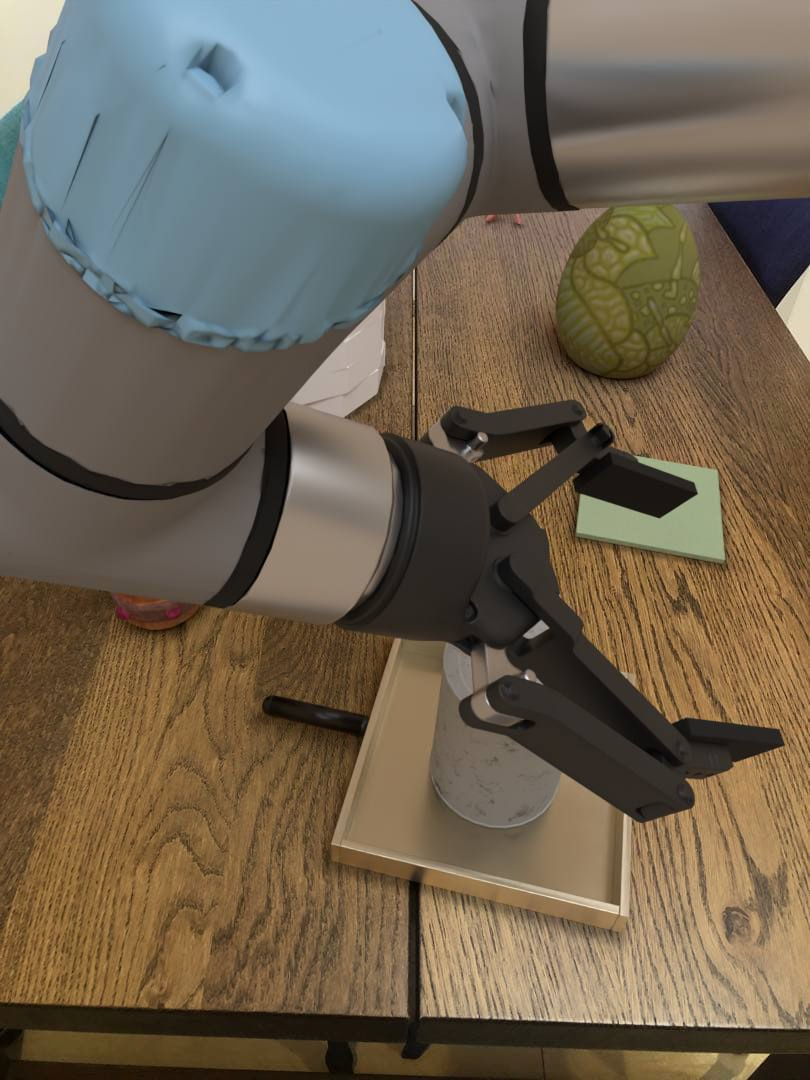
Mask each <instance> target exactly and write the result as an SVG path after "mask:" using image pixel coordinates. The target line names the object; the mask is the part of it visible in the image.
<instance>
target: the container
mask: <svg viewBox="0 0 810 1080" xmlns="http://www.w3.org/2000/svg"><path fill="white" fill-rule="evenodd" d="M386 299H387V297H386V298H385V299H384V300H383V301H382V302H381V303H380V304H379V305H378V306H377V307H376V308H375V309H374V310H373V311H372V312H371V313H370V314H369V315H368V316H367V317H366V318H365V319H364V320H363V321H362V322H361V323H360V324H359V325H358V326H357V327H356V328H355V329H354V330H353V331H352V332H351V333H350V334H349V335H348V336H347V337H346V339H345V340H344V341H343V342H342V343H341V344H340V345H339V346H338V347H337V348H336V349H335V350H334V352H333V353H332V354H331V355H330V356H329V357H328V358H327V359H326V360H325V361H324V363H323V364H322V365H321V366H320V367H319V368H318V369H317V371H316V372H315V373H314V374H313V375H312V376H311V377H310V378H309V380H308V381H307V382H306V383H305V384H304V386H303V387H302V388H301V389H300V390H299V391H298V392H297V394H296V395H295V396H294V397H293V398H292V399H291V400H290V402H294V403H297V404H300V405H303V406H307V407H310V408H313V409H316V410H320V411H323V412H326V413H329V414H333V415H336V416H339V417H342V418H345V417H346V416H348V415H350V414H351V413H352V412H354V411H355V410H357V409H358V408H359V407H361V406H362V405H363V404H365V403H367V401H369V400H371V399H372V398H373V397H375V396H377V395H378V393H379V389H380V384H381V380H382V376H383V373H384V372H383V371H384V367H385V366H386V345H387V344H386V341H385V340H384V339H385V317H386Z"/></svg>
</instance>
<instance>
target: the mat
mask: <svg viewBox="0 0 810 1080" xmlns="http://www.w3.org/2000/svg"><path fill="white" fill-rule="evenodd" d="M632 455H633V454H632ZM633 456H634V457H636V458H637V459H638V462H640V463H642V464H645V465H648V466H651V467H653V468H656V469H659V470H662V471H664V472H667V473H670V474H673V475H675V476H678V477H681V478H684V479H686V480H689V481H692V482H694V483H695V486H696V489H697V492H698V494H697V495H696V496H694V497H693V498H691V499H690V500H688V501H686V502H685V503H683V504H682V505H680V506H679V507H677V508H675V509H674V510H672V511H671V512H669V513H668V514H666V515H665V516H663V517H661V518H660V519H659V518H656V517H653V516H649V515H646V514H643V513H640V512H637V511H634V510H630V509H627V508H624V507H621V506H618V505H615V504H611V503H608V502H605V501H602V500H599V499H596V498H592V497H589V496H586V495H583V494H580V493H579V496H578V497H579V498H578V507H577V516H576V523H575V532H574V533H575V534H574V536H575V537H576V538H582V539H587V540H592V541H597V542H603V543H609V544H613V545H618V546H624V547H630V548H635V549H639V550H640V549H641V550H644V551H651V552H656V553H662V554H667V555H672V556H677V557H682V558H688V559H693V560H699V561H704V562H710V563H714V564H720V565H724V563H725V561H726V555H725V544H724V532H723V531H724V530H723V521H722V518H723V517H722V506H721V495H720V494H721V493H720V482H719V481H720V480H719V471H718V469H713V468H709V467H702V466H697V465H696V466H695V465H692V464H691V465H690V464H685V463H680V462H674V461H668V460H662V459H656V458H651V457H646V456H640V455H639V456H638V455H633Z"/></svg>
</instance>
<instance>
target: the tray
mask: <svg viewBox="0 0 810 1080" xmlns="http://www.w3.org/2000/svg"><path fill="white" fill-rule="evenodd" d="M446 643H447V642H443V641H412V640H405V639H399V638H393V640H392V644H391V647H390V650H389V653H388V657H387V660H386V664H385V666H384V669H383V673H382V676H381V679H380V683H379V686H378V690H377V693H376V695H375V698H374V702H373V706H372V709H371V712H370V715H369V716H368V715H366V714H362V713H357V712H352V711H349V710H343V709H339V708H336V707H335V708H334V707H330V706H326V705H321V704H317V703H312V702H308V701H304V700H299V699H294V698H289V697H285V696H281V695H276V694H270V695H267V696H266V697H264V699H263V700H262V702H261V710H262V712H263V714H264V715H265V716H267V717H270V718H275V719H279V720H282V721H283V720H284V721H289V722H293V723H297V724H300V725H301V724H302V725H306V726H310V727H314V728H319V729H324V730H328V731H333V732H337V733H342V734H345V735H350V736H354V737H359V738H363V739H362V740H361V741H362V742H361V744H360V748H359V750H358V754H357V757H356V760H355V765H354V768H353V771H352V773H351V777H350V781H349V783H348V786H347V790H346V793H345V796H344V801H343V803H342V806H341V809H340V812H339V816H338V819H337V822H336V825H335V829H334V831H333V835H332V838H331V841H330V857H331V858H330V859H331V862H334V863H338V864H342V865H346V866H350V867H354V868H357V869H358V868H359V869H362V870H366V871H371V872H373V873H374V872H375V873H378V874H382V875H387V876H390V877H394V878H398V879H403V880H407V881H410V882H415V883H419V884H422V885H427V886H431V887H434V888H438V889H443V890H445V891H446V890H447V891H451V892H455V893H459V894H462V895H467V896H471V897H474V898H475V897H476V898H479V899H483V900H487V901H491V902H495V903H498V904H499V903H500V904H504V905H507V906H511V907H515V908H520V909H523V910H527V911H531V912H536V913H539V914H544V915H549V916H552V917H556V918H559V919H564V920H568V921H572V922H576V923H580V924H585V925H588V926H592V927H596V928H600V929H604V930H608V931H612V932H616V933H621V932H622V930H623V929H624V926H626V923H627V921H629V918H630V903H631V902H630V901H631V869H632V868H631V867H632V865H631V864H632V834H633V833H632V832H633V831H632V830H633V828H632V827H633V824H632V823H633V819H632V818H631V817H629V816H628V815H626V814H625V813H623V812H622V811H620V810H619V809H617V808H616V807H614V806H612V805H611V804H609V803H608V802H606V801H605V800H603V799H602V798H600V797H599V796H597V795H596V794H594V793H593V792H591V791H590V790H588V789H587V788H585V787H584V786H582V785H581V784H579V783H578V782H576V781H575V780H573V779H572V778H570V777H569V776H567V775H565V774H564V773H562V774H561V777H560V780H559V784H558V790H557V792H556V795H555V797H554V799H553V802H552V803H551V804H550V806H549V807H548V808H547V809H546V811H545V812H544V813H543V814H541V815H540V816H539V817H537V818H536V819H535V820H533V821H531V822H529V823H526V824H524V825H522V826H518V827H512V828H506V829H500V828H488V827H484V826H480V825H477V824H474V823H472V822H470V821H468V820H466V819H464V818H462V817H460V816H459V815H458V814H456V813H455V812H454V811H452V810H451V809H450V808H449V807H448V806H447V805H446V804H445V802H444V801H443V800H442V799H441V798H440V796H439V795H438V793H437V791H436V789H435V787H434V785H433V782H432V778H431V774H430V754H431V750H432V746H433V738H434V731H435V723H436V716H437V708H438V701H439V693H440V686H441V678H442V671H443V653H444V650H445V646H446ZM619 671H620V672H621V673H622V674H623V675H624V676H625V677H626V678H627V679H628V680H629V681H630V682H631V683H632V684H633V685H634V686H635V687H636V684H637V683H636V682H637V681H636V680H637V679H636V678H637V674H636V673H632V672H628V671H627V672H626V671H621V670H619Z"/></svg>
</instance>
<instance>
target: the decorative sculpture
mask: <svg viewBox="0 0 810 1080" xmlns="http://www.w3.org/2000/svg"><path fill="white" fill-rule="evenodd" d="M700 288H701V267H700V258H699V252H698V249H697V244H696V240H695V238H694V235H693V232H692V231H691V228H690V226H689V224H688V222H687V221H686V219H685V217H684V216H683V214H682V213H681V212H680V211H679V209H678V208H677V207H676V206H675V204H670V205H650V206H630V207H609V208H607V210H605V211H603V213H601V214H600V215H599V216H598V217H597V218H596V219H595V220H594V221H592V223H591V224H590V225H589V226H588V227H587V229H586V230H585V231H584V233H583V234H582V235H581V236H580V237H579V239H578V241H577V242H576V243H575V246H574V247H573V249H572V250H571V252H570V254H569V257H568V259H567V261H566V263H565V265H564V268H563V270H562V273H561V276H560V280H559V283H558V289H557V293H556V299H555V319H556V320H555V321H556V327H557V332H558V335H559V338H560V341H561V344H562V346H563V348H564V350H565V352H566V354H567V355H568V357H569V358H570V359H571V361H573V362H574V363H575V365H577V366H578V367H579V368H581V369H583V370H585V371H587V372H589V373H591V374H593V375H595V376H596V375H597V376H600V377H604V378H607V379H615V380H616V379H617V380H625V379H626V380H627V379H636V378H641V377H644V376H647V375H649V374H650V373H652V372H653V371H655V370H656V369H658V368H659V367H661V366H662V365H663V364H664V363H666V362H667V360H668V359H669V358H670V357H672V355H674V353H676V351H677V350H678V348H679V347H680V346H681V344H682V342H683V341H684V339H685V338H686V336H687V334H688V331H689V330H690V328H691V325H692V323H693V320H694V317H695V314H696V311H697V307H698V303H699V296H700Z"/></svg>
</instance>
